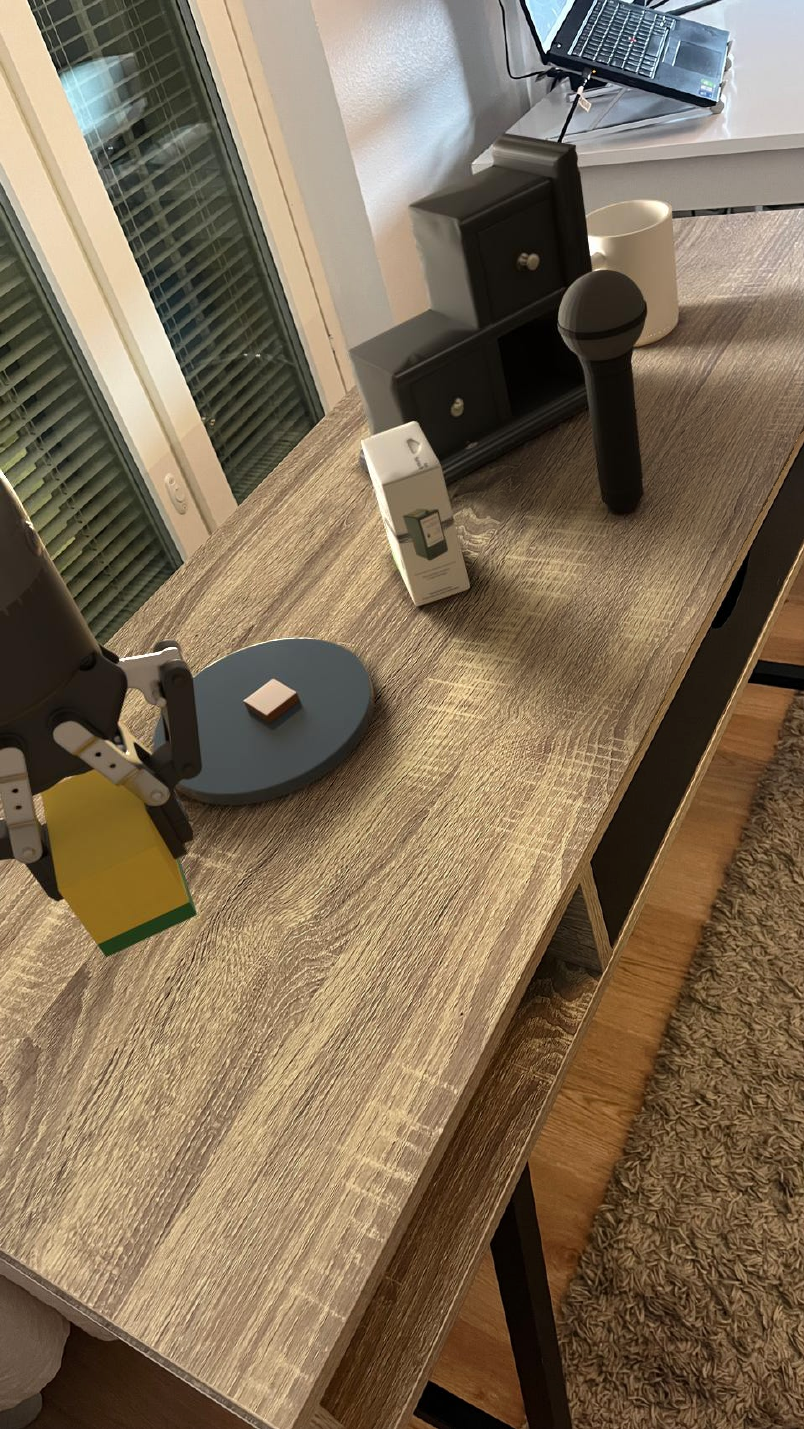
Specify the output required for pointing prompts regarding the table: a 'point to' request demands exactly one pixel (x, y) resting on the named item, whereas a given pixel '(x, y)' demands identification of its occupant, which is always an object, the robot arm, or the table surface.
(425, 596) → the ink box
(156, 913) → the sponge
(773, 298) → the table surface
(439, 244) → the small black cabinet
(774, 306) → the table surface
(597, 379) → the microphone
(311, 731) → the plate
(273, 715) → the orange brown flat block
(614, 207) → the mug
